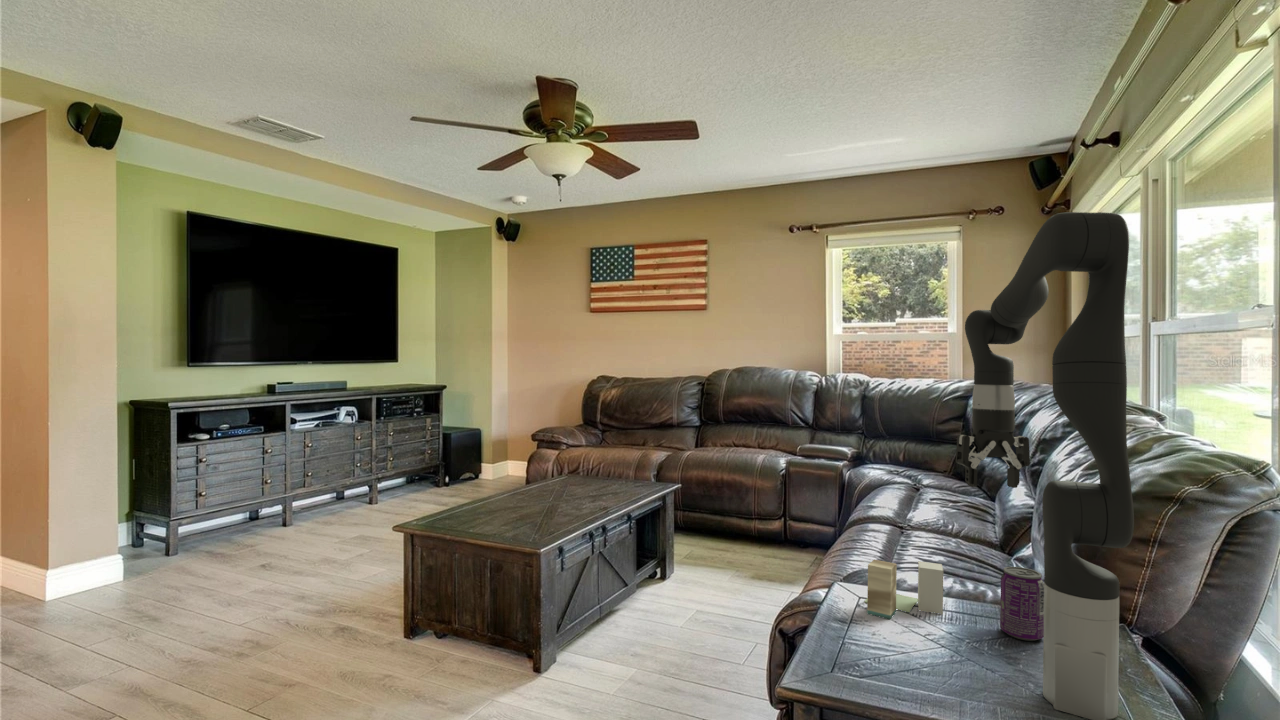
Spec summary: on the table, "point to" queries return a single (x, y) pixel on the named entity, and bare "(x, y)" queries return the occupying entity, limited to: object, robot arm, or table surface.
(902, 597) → the mat
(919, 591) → the grey block
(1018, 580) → the beverage can
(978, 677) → the table surface
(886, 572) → the birch block
